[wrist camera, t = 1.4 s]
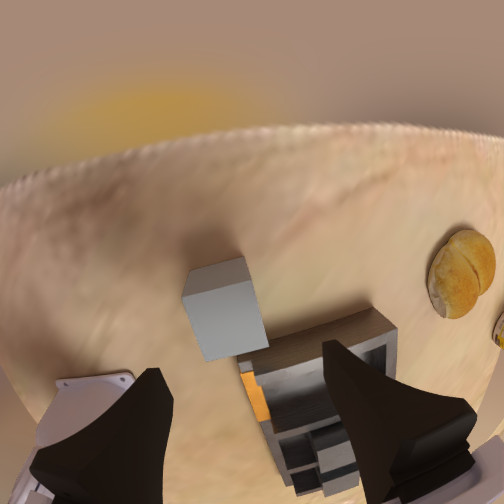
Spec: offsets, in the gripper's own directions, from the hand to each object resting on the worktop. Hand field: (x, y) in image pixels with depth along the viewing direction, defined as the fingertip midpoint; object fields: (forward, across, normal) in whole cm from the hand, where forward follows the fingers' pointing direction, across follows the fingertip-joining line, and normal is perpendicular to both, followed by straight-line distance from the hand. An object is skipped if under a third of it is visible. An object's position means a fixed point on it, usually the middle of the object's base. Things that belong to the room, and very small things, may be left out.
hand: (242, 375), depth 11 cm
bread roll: (+11, -21, +4) cm, 24 cm away
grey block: (+10, +1, 0) cm, 10 cm away
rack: (+9, -6, +16) cm, 19 cm away
